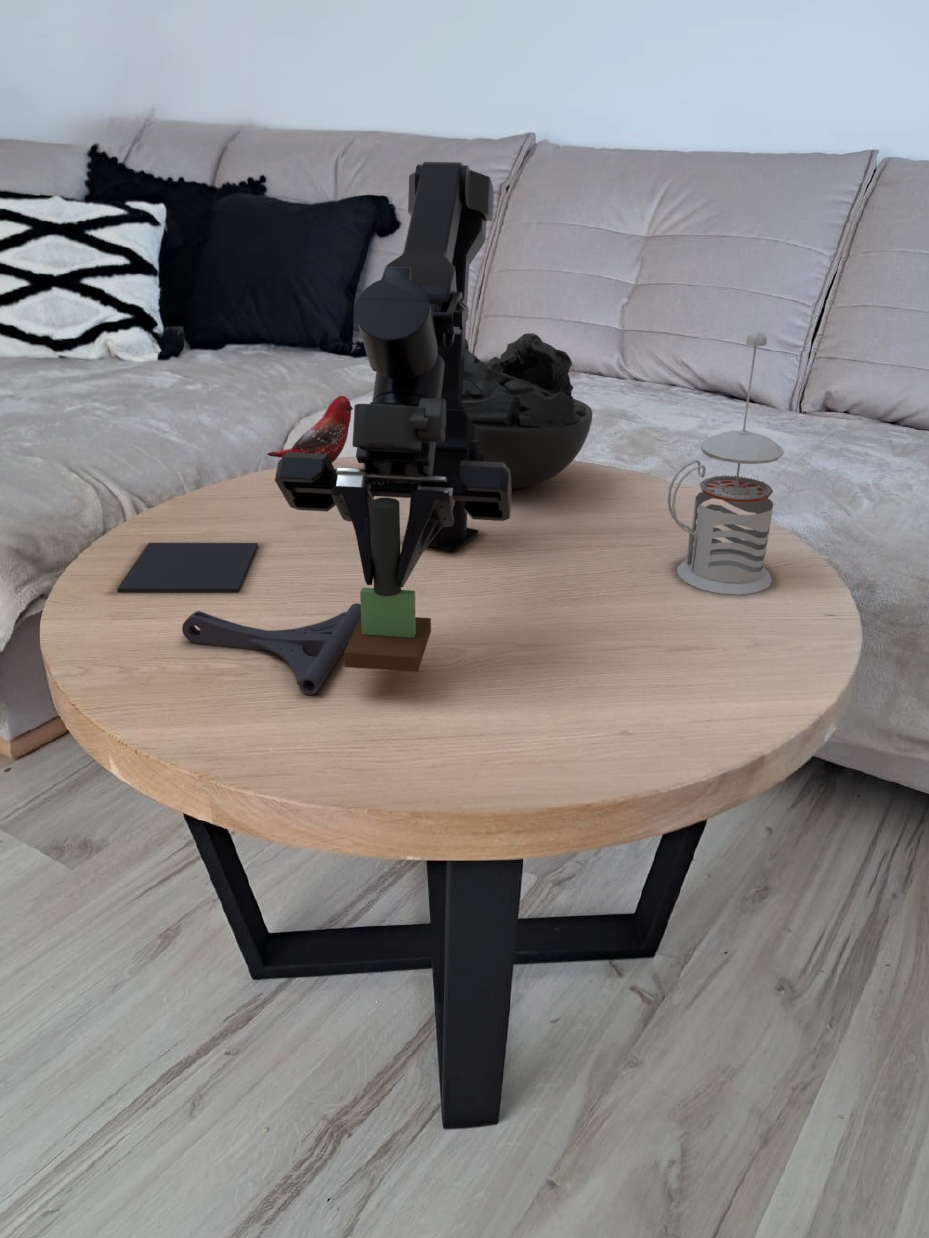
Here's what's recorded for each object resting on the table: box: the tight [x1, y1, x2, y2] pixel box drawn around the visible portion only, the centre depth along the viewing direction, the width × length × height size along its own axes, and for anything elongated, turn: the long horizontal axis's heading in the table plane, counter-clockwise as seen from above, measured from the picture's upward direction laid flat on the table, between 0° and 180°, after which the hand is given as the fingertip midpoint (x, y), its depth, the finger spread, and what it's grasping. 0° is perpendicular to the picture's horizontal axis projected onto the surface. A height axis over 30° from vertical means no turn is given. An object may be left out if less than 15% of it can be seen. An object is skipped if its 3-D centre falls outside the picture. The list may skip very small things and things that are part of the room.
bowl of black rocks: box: [462, 332, 594, 489], centre depth 126 cm, size 20×20×19 cm
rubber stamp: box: [343, 497, 432, 673], centre depth 80 cm, size 7×6×13 cm
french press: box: [667, 331, 785, 596], centre depth 99 cm, size 10×12×25 cm
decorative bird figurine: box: [266, 395, 354, 470], centre depth 127 cm, size 3×18×10 cm, turn 150°
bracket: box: [181, 602, 361, 696], centre depth 89 cm, size 14×15×3 cm
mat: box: [116, 542, 259, 593], centre depth 105 cm, size 12×12×1 cm
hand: (383, 584), depth 79 cm, fingers closed on rubber stamp, 2 cm apart
